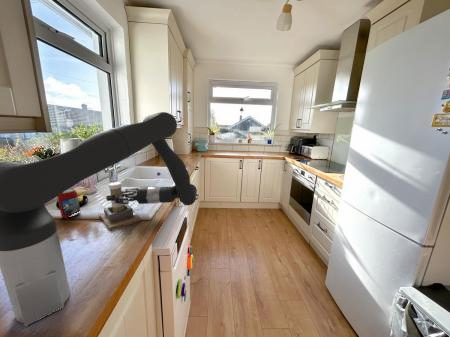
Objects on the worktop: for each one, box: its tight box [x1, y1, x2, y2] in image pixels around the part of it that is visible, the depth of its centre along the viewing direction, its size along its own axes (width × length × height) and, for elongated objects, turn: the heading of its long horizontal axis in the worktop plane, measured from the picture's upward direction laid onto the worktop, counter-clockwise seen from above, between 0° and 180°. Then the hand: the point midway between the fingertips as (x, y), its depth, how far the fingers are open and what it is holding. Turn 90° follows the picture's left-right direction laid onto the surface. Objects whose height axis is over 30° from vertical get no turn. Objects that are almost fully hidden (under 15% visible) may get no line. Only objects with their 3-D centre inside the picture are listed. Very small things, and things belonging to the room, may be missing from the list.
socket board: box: [99, 204, 142, 232], centre depth 83 cm, size 18×12×4 cm, turn 44°
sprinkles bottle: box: [108, 181, 124, 213], centre depth 81 cm, size 5×5×13 cm
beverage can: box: [56, 188, 81, 219], centre depth 84 cm, size 7×7×12 cm
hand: (110, 195), depth 81 cm, fingers closed on sprinkles bottle, 4 cm apart
